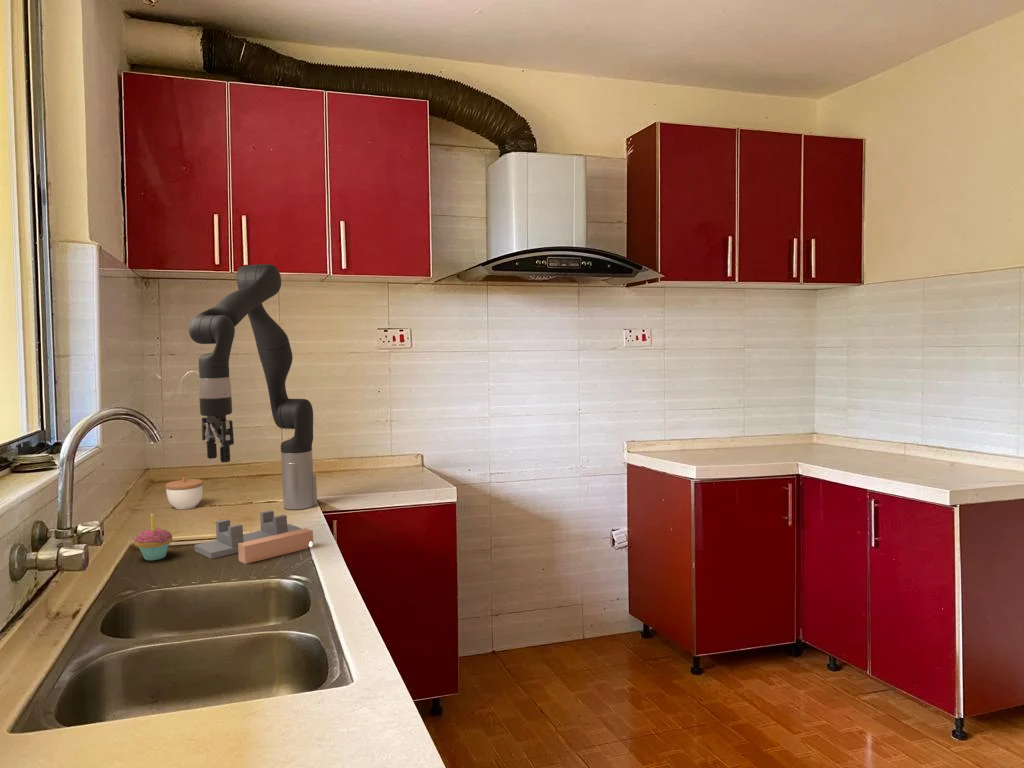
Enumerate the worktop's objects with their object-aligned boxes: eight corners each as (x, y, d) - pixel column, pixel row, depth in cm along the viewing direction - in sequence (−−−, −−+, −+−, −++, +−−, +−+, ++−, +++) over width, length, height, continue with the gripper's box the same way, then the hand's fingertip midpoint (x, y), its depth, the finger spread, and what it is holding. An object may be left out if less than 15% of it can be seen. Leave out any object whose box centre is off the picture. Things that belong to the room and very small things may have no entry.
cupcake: (175, 559, 188) (172, 510, 187) (136, 565, 184) (133, 515, 183) (171, 550, 196) (168, 503, 195) (134, 556, 192) (130, 508, 191)
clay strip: (306, 545, 199) (305, 528, 198) (313, 547, 196) (312, 530, 196) (238, 561, 186) (237, 543, 186) (245, 565, 184) (244, 546, 183)
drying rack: (289, 529, 213) (288, 506, 212) (308, 536, 206) (307, 512, 205) (194, 550, 195) (193, 525, 194) (211, 559, 188) (209, 532, 187)
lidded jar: (210, 506, 242) (208, 476, 241) (175, 513, 234) (173, 482, 233) (195, 501, 249) (194, 472, 249) (161, 507, 242) (159, 478, 241)
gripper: (241, 396, 191) (245, 461, 192) (219, 393, 202) (222, 455, 203) (211, 398, 186) (214, 465, 187) (189, 395, 197) (193, 458, 198)
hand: (218, 460), depth 195 cm, fingers open, 8 cm apart
